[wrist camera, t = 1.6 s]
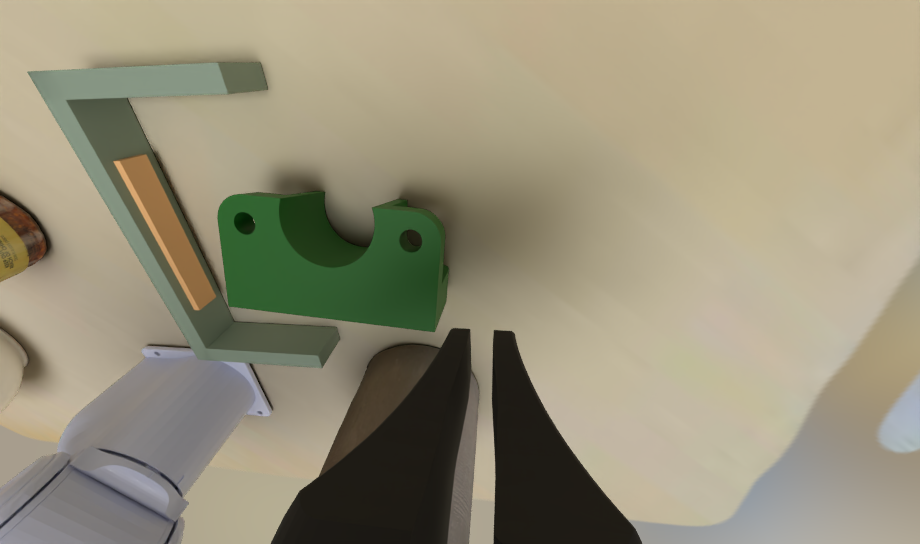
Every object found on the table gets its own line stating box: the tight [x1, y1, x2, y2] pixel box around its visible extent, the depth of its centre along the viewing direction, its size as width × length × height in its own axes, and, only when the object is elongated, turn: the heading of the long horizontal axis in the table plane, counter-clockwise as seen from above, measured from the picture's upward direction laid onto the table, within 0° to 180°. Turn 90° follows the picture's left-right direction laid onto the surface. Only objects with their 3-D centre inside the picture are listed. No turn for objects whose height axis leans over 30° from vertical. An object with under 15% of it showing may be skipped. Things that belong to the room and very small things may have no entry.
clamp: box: [218, 191, 449, 332], centre depth 19 cm, size 12×6×9 cm, turn 80°
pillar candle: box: [319, 345, 479, 544], centre depth 22 cm, size 10×10×15 cm
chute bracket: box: [28, 63, 340, 368], centre depth 21 cm, size 10×18×3 cm, turn 2°
